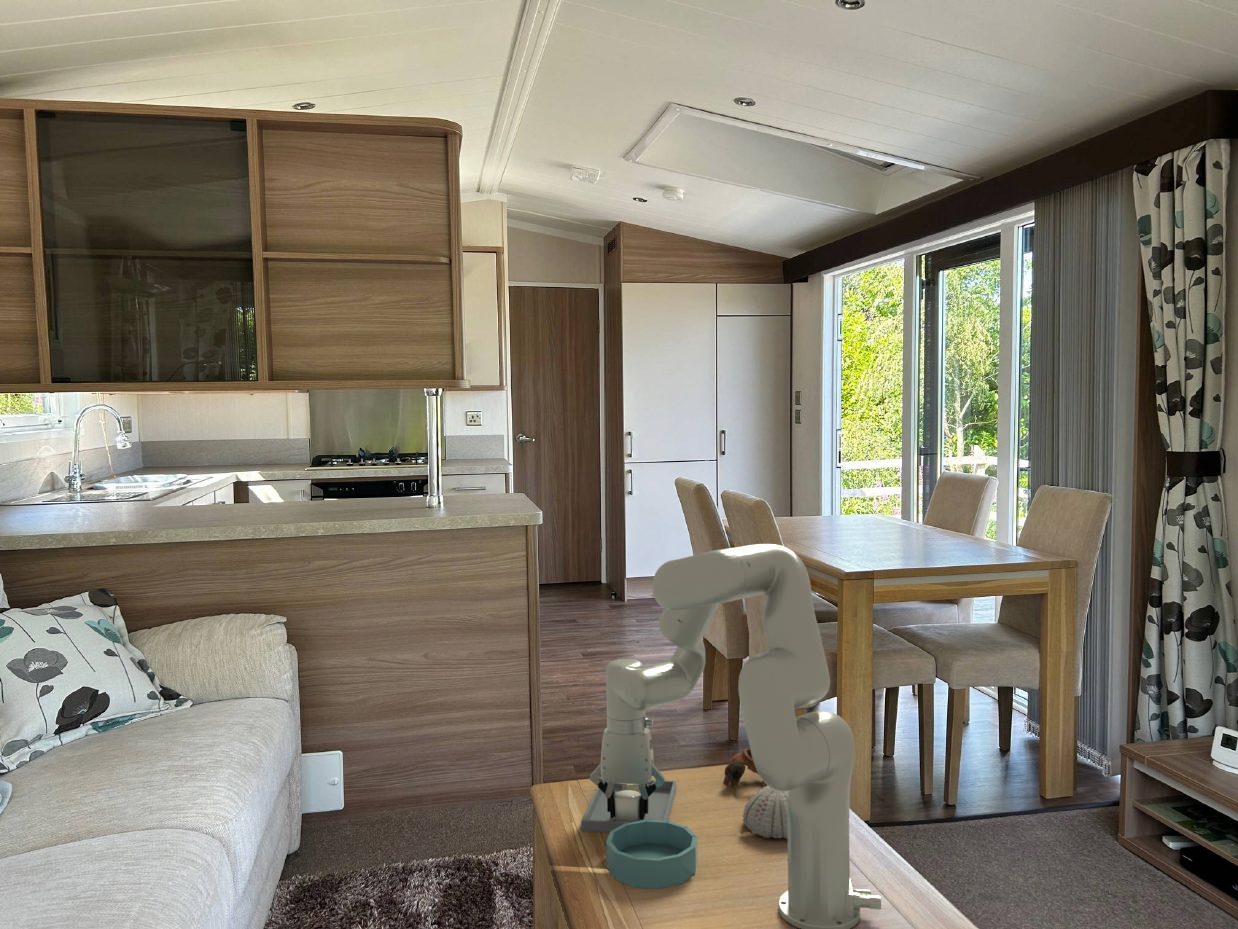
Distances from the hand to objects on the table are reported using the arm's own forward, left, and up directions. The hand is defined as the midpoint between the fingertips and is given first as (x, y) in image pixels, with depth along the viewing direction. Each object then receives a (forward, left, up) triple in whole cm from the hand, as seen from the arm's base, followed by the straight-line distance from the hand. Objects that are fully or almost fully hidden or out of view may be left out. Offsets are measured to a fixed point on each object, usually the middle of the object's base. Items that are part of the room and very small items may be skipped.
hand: (628, 815), depth 176 cm
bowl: (-7, +17, -2) cm, 18 cm away
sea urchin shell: (-29, -1, -2) cm, 29 cm away
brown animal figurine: (-22, -22, -2) cm, 31 cm away
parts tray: (0, -5, -2) cm, 5 cm away
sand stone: (0, -11, -1) cm, 11 cm away
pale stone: (0, 0, -1) cm, 1 cm away
